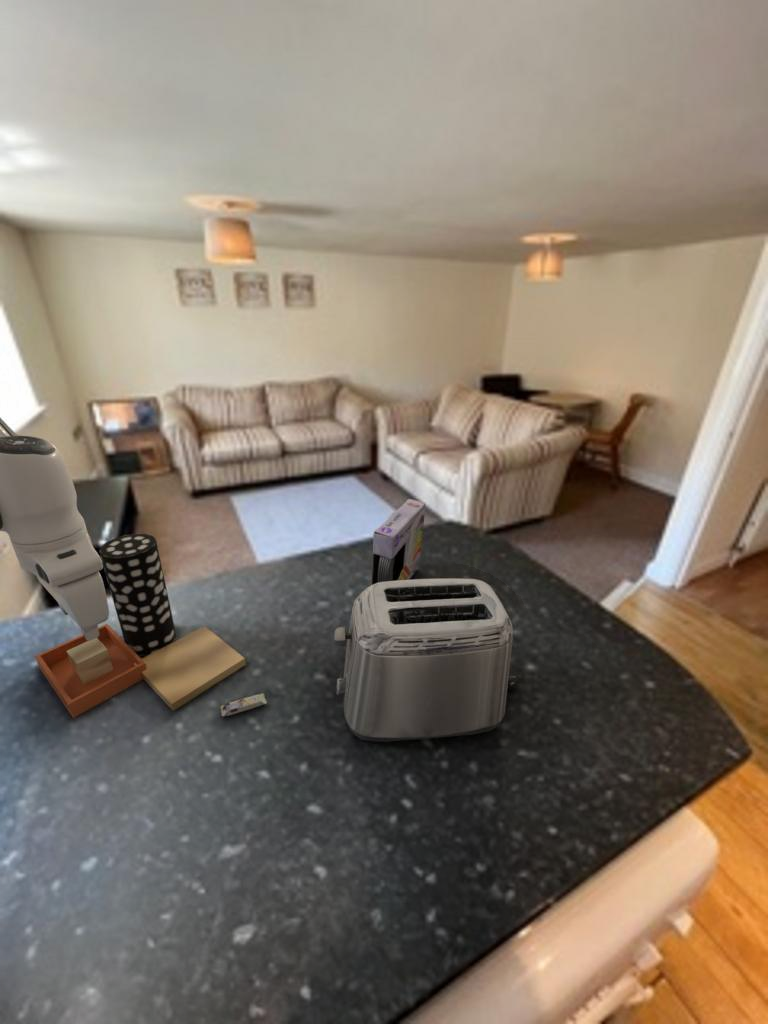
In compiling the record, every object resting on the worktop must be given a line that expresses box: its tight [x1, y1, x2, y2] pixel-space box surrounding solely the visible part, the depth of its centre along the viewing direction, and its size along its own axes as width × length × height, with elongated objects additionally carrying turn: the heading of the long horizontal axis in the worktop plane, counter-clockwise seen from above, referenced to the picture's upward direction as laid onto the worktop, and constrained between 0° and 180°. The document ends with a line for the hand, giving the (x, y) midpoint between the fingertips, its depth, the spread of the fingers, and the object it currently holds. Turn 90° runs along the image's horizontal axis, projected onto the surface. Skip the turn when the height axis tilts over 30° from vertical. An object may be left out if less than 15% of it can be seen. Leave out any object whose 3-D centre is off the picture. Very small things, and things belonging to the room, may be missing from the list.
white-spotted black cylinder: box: [99, 533, 177, 657], centre depth 78 cm, size 8×8×20 cm
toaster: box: [333, 578, 517, 743], centre depth 68 cm, size 17×30×19 cm, turn 95°
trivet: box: [133, 625, 247, 712], centre depth 76 cm, size 13×13×2 cm
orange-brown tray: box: [34, 623, 147, 719], centre depth 74 cm, size 15×11×3 cm
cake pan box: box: [370, 498, 427, 586], centre depth 97 cm, size 19×5×18 cm, turn 155°
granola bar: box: [219, 692, 268, 717], centre depth 69 cm, size 7×2×1 cm, turn 113°
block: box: [67, 638, 113, 685], centre depth 74 cm, size 4×4×4 cm
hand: (80, 623), depth 71 cm, fingers open, 8 cm apart
